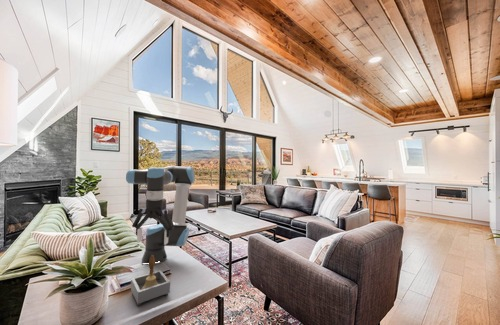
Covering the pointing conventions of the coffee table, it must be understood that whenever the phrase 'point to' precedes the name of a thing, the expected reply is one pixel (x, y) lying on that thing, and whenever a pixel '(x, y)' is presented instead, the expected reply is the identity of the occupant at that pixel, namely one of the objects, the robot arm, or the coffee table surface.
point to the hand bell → (150, 275)
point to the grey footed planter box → (150, 292)
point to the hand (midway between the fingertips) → (152, 242)
